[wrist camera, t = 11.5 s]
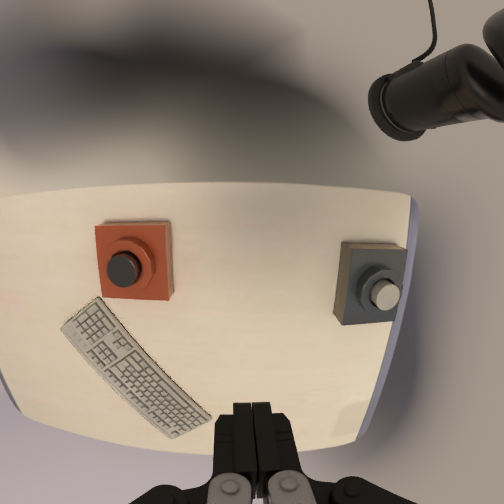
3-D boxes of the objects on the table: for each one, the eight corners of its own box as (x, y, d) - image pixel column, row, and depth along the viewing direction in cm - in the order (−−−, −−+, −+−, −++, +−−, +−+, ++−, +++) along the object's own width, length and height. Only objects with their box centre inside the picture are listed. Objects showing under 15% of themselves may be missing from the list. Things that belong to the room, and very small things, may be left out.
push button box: (341, 242, 39) (358, 252, 33) (394, 243, 40) (415, 253, 34) (333, 313, 42) (346, 332, 36) (383, 310, 43) (401, 326, 37)
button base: (103, 222, 36) (87, 228, 32) (170, 221, 37) (161, 227, 32) (110, 289, 39) (96, 302, 34) (173, 292, 39) (166, 306, 35)
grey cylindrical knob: (372, 279, 35) (378, 285, 33) (394, 279, 35) (401, 284, 33) (367, 305, 36) (374, 311, 34) (389, 303, 36) (396, 309, 34)
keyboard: (212, 417, 46) (212, 424, 44) (171, 433, 46) (170, 440, 45) (99, 295, 39) (94, 300, 37) (64, 324, 40) (58, 329, 38)
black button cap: (111, 251, 33) (104, 255, 31) (140, 251, 33) (134, 255, 31) (114, 281, 34) (108, 287, 32) (142, 282, 34) (137, 288, 32)
